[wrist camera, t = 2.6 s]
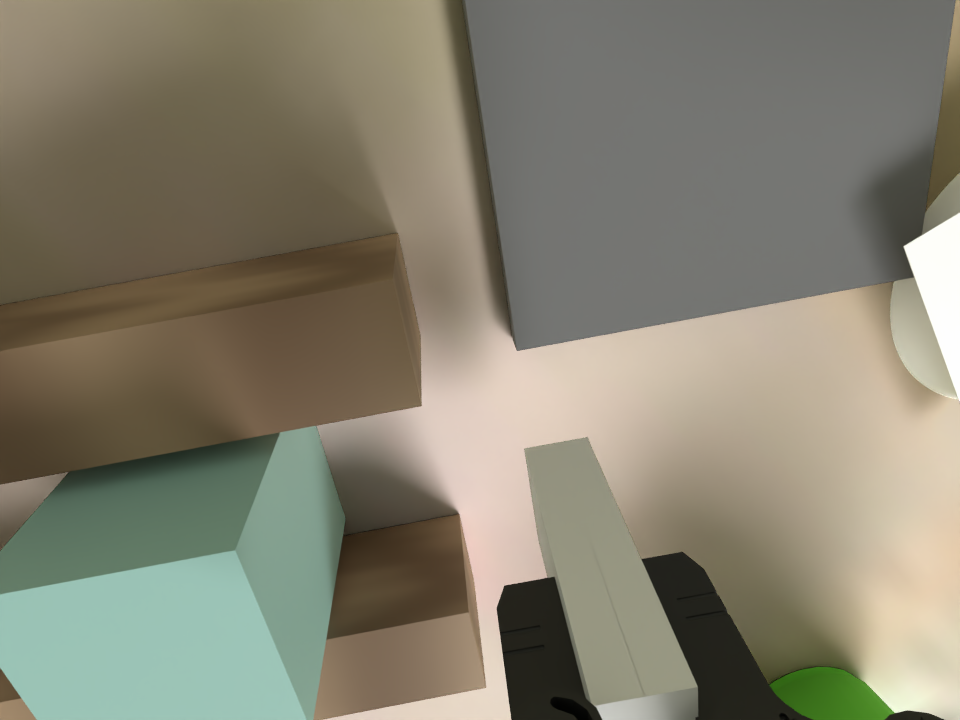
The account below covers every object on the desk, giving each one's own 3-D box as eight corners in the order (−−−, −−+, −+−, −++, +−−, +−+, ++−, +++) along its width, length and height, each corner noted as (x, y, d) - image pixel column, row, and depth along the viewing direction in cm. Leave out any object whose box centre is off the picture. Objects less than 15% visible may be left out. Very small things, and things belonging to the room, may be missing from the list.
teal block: (187, 548, 20) (76, 776, 13) (123, 410, 17) (-46, 603, 11) (345, 518, 20) (311, 730, 13) (301, 377, 17) (235, 549, 11)
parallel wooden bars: (-61, 684, 21) (-162, 813, 17) (-311, 361, 16) (-530, 447, 12) (474, 582, 21) (486, 687, 17) (398, 232, 16) (392, 279, 12)
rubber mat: (512, 339, 18) (516, 351, 17) (440, -146, 13) (441, -159, 12) (895, 268, 18) (916, 276, 17) (959, -235, 13) (991, -254, 12)
